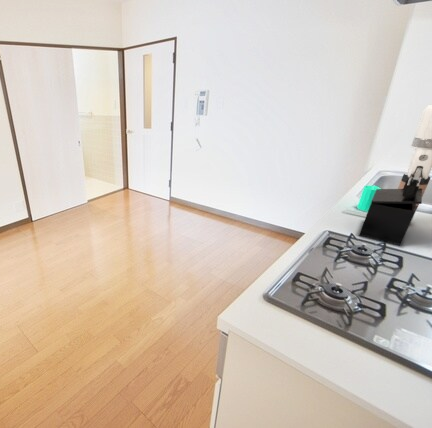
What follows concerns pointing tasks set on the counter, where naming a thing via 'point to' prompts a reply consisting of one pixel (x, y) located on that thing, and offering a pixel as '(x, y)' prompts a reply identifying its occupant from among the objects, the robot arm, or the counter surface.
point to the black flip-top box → (387, 222)
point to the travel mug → (422, 184)
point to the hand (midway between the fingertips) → (408, 193)
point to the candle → (367, 197)
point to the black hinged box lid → (396, 197)
